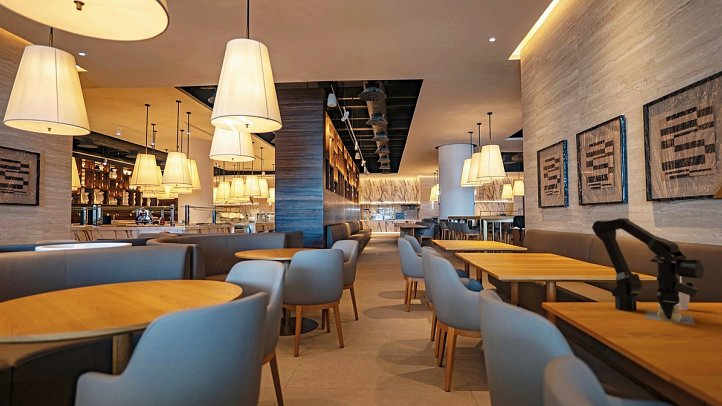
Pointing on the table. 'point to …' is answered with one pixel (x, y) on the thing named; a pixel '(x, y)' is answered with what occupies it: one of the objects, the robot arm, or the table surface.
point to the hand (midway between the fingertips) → (669, 316)
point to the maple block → (674, 314)
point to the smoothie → (683, 300)
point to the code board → (683, 319)
